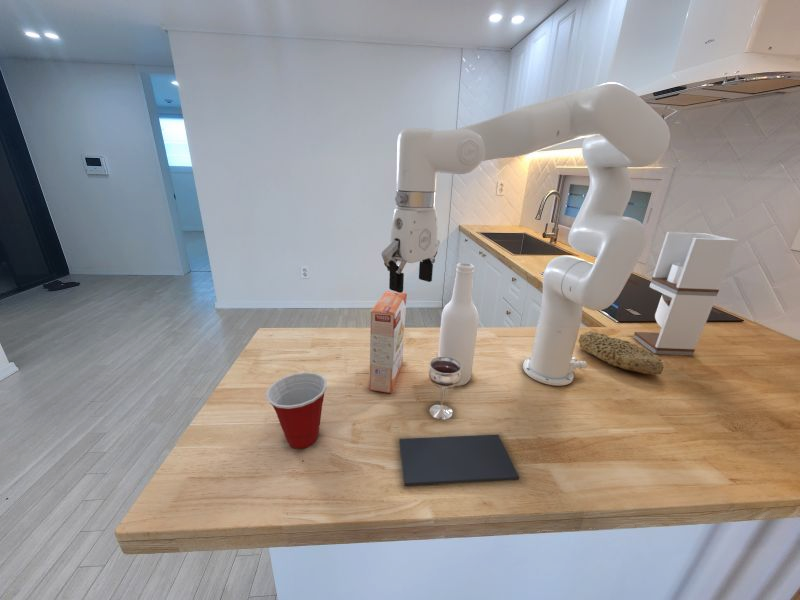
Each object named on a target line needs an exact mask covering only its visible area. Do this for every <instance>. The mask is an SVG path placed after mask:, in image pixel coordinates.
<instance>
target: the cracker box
mask: <svg viewBox="0 0 800 600" xmlns="http://www.w3.org/2000/svg"><path fill="white" fill-rule="evenodd" d="M406 310H407V293H406V292H401V293H399V292H396V291H392V290H385V291H384V293H383V294H382V295H381V296H380V298H379V299H378V301H377V302H376V303H375V305H374V306H373V308H372V309H371V310H370V327H369V328H370V331H369V333H370V335H369V336H370V337H369V338H370V339H369V387H368V388H369V390H370V391H375V392H381V393H385V394H386V393H387V394H392V393H393V390H394V387H395V385H396V382H397V379H398V376H399V374H400V372H401V368H402V366H403V361H404V345H405V326H406V325H405V324H406V312H407V311H406Z"/></svg>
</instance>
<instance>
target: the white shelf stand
mask: <svg viewBox="0 0 800 600" xmlns="http://www.w3.org/2000/svg"><path fill="white" fill-rule="evenodd" d="M739 241H740V240H739V239H736V238H735V239H734V238H731V237H725V236H721V235H716V234H712V233H705V232H684V231H683V232H682V231H681V232H680V231H667V232H666V233H665V237H664V240H663V243H662V246H661V249H660V253H659V256H658V259H657V262H656V265H655V267H654V271H653V274H652V277H651V280H650V284H649V288H650V289H652V290H653V291H657V292H659V293H661V297H660V298H659V302H658V305H657V308H656V310H655V313H654V319H655V321H656V322H655V323H657V325H658V326H659V327H660V331H659V332H649V331H648V332H647V331H634V333H633V336H632V339H634V340H636V341H637V342H639V343H640V344H641V345H643V346H644V348H646V349H648V351H650V352H652V353H653V354H654V355H672V356H673V355H677V356H694V354H695V351H696V349H697V347H698V344H699V341H700V339H701V337H702V333H703V332H704V329H705V326H706V324H707V322H708V320H709V317H710V314H711V312H712V309H713V307H714V304H715V302H716V299H717V296H718V294H719V292H720V290H721V287H722V285H723V281H724V280H725V277H726V275H727V272H728V269H729V268H730V264H731V263H732V259H733V258H734V255H735V253H736V250H737V247H738V244H739Z"/></svg>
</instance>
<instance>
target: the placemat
mask: <svg viewBox="0 0 800 600" xmlns="http://www.w3.org/2000/svg"><path fill="white" fill-rule="evenodd" d="M398 442H399V451H400V456H401V457H400V458H401V465H402V466H401V467H402V475H403V484H404V486H405V487H411V486H427V485H441V484H442V485H444V484H445V485H446V484H463V483H479V482H480V483H481V482H495V481H496V482H497V481H498V482H499V481H513V480H514V481H515V480H519V479H520V476H519V474H518V471H517V470H516V467H515V466H514V463H513V462H512V460H511V457H510V455H509V454H508V452H507V449H506V447H505V445H504V443H503V441H502V439H501V437H500V435H499V434H482V435H481V434H479V435H459V436H457V435H456V436H436V437H435V436H433V437H412V438H411V437H410V438H399V441H398Z"/></svg>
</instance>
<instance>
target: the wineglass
mask: <svg viewBox="0 0 800 600" xmlns="http://www.w3.org/2000/svg"><path fill="white" fill-rule="evenodd" d="M461 368H462V366H461V364H460V362H459V361H457V360H455V359H453V358H450V357H438V356H436V357H434V358H432V359H431V360H430V361H429V369H428V377H429V381H430V382H431V383H432V384H433V385H434V386H436V387H437V388H439V389H440V390H441V391H440V404H439V403H438V404H434V405H432V406H431V407H430V409H429V413H430V415H431V416H432V417H433V418H435V419H438V420H449V419H450V418H451V417H452V416H453V410H452V408H450V407H449V406H448V405H445V404H444V399H445V393H446V390H449V389H452V388H454V387H457V386H456V385H457V384H458V382H459V381H460V378H461V371H460V370H461Z"/></svg>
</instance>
